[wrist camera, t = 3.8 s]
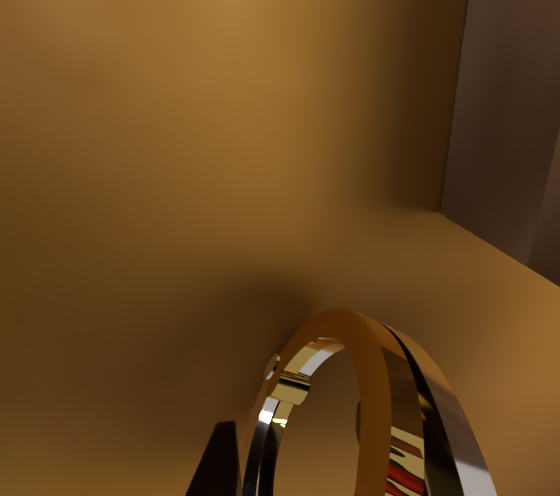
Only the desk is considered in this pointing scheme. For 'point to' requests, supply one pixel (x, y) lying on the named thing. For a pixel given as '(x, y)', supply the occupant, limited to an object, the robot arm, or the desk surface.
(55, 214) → the desk surface
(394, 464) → the ring
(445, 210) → the base
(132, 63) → the desk surface
